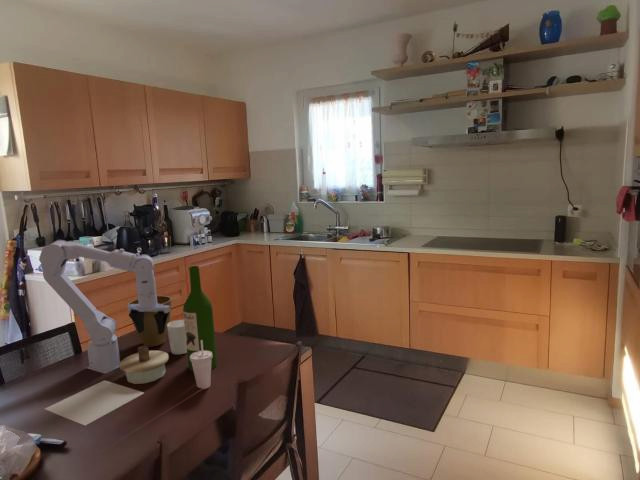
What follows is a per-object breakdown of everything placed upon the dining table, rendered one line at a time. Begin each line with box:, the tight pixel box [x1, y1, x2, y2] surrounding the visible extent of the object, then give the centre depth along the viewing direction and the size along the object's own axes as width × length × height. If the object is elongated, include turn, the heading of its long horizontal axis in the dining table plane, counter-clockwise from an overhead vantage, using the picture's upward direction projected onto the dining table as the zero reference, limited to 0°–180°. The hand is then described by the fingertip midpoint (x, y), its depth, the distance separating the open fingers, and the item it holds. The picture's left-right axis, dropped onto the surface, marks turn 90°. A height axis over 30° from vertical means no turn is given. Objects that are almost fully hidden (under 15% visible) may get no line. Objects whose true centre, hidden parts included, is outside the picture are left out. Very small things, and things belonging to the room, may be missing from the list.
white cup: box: [167, 319, 187, 355], centre depth 158 cm, size 8×8×10 cm
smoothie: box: [190, 340, 213, 390], centre depth 131 cm, size 6×6×14 cm
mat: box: [44, 379, 145, 426], centre depth 125 cm, size 18×18×1 cm
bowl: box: [125, 363, 166, 385], centre depth 139 cm, size 11×11×5 cm
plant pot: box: [127, 295, 172, 348], centre depth 165 cm, size 15×15×16 cm
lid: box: [119, 345, 170, 373], centre depth 138 cm, size 14×14×5 cm
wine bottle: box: [182, 265, 218, 372], centre depth 143 cm, size 9×9×32 cm
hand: (151, 332), depth 149 cm, fingers open, 7 cm apart
